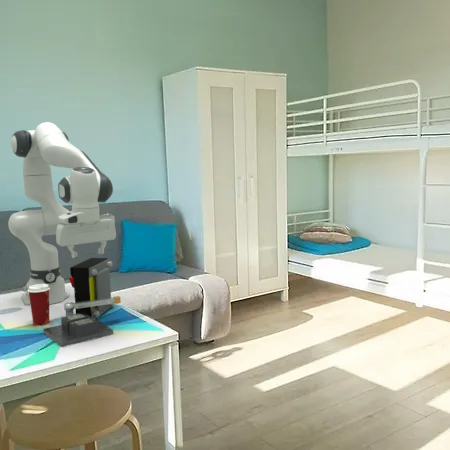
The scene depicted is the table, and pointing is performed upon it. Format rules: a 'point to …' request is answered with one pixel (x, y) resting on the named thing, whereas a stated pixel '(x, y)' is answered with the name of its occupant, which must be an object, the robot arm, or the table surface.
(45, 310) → the paper cup
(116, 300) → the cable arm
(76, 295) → the electrical component
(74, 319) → the tray
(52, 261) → the robot arm
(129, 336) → the table surface
